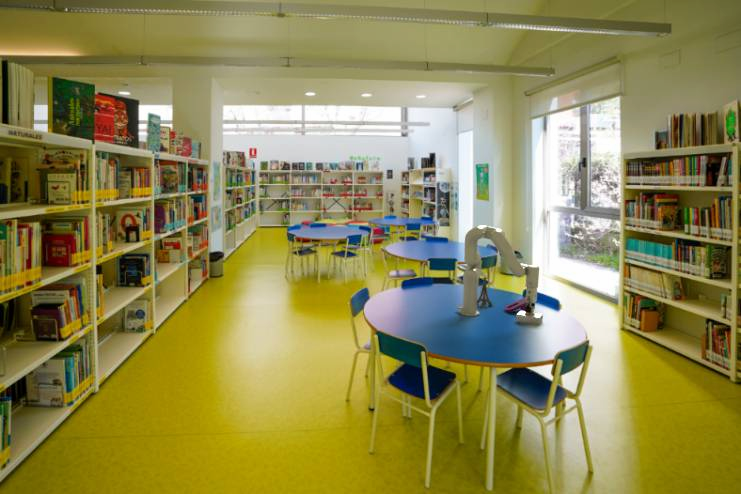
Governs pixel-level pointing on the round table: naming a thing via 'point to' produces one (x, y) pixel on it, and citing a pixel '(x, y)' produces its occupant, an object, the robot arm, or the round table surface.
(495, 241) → the robot arm
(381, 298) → the round table surface
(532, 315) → the wedge pin
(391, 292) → the round table surface
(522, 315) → the collar block
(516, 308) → the maroon shoe
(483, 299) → the eiffel tower
